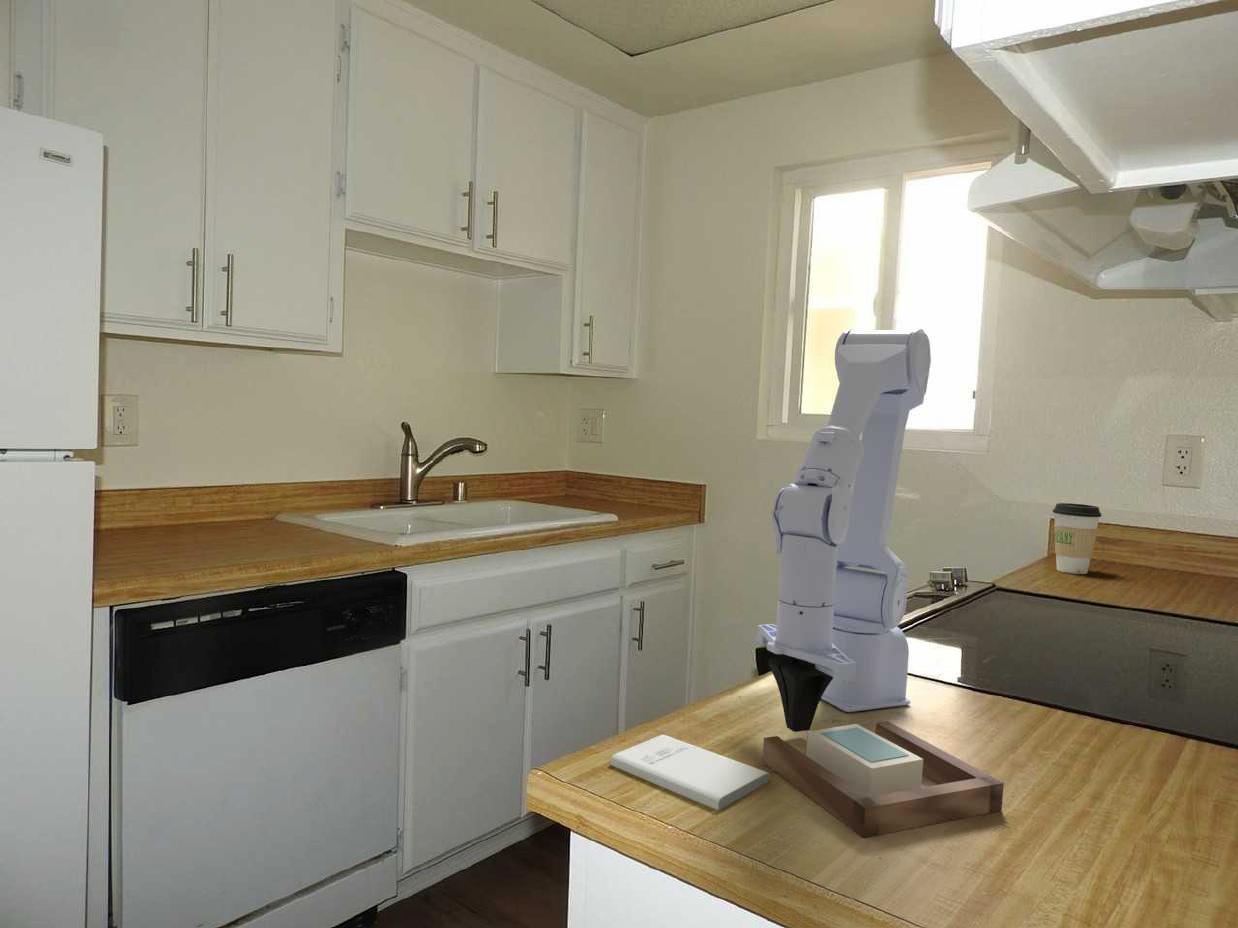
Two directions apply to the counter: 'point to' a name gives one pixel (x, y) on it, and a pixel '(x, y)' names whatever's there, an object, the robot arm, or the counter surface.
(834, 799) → the frame
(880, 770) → the card box
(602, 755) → the counter surface
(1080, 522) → the coffee cup
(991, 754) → the counter surface
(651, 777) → the external hard drive
